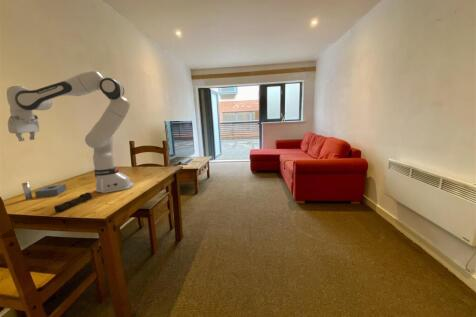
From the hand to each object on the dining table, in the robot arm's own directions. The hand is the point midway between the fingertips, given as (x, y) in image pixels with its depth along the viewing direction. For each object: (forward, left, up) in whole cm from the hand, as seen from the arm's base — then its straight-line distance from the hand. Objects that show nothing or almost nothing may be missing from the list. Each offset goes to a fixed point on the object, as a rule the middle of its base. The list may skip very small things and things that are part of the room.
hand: (27, 140), depth 119 cm
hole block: (-4, -5, -35) cm, 36 cm away
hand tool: (-27, +24, -36) cm, 50 cm away
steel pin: (+5, +1, -35) cm, 35 cm away
